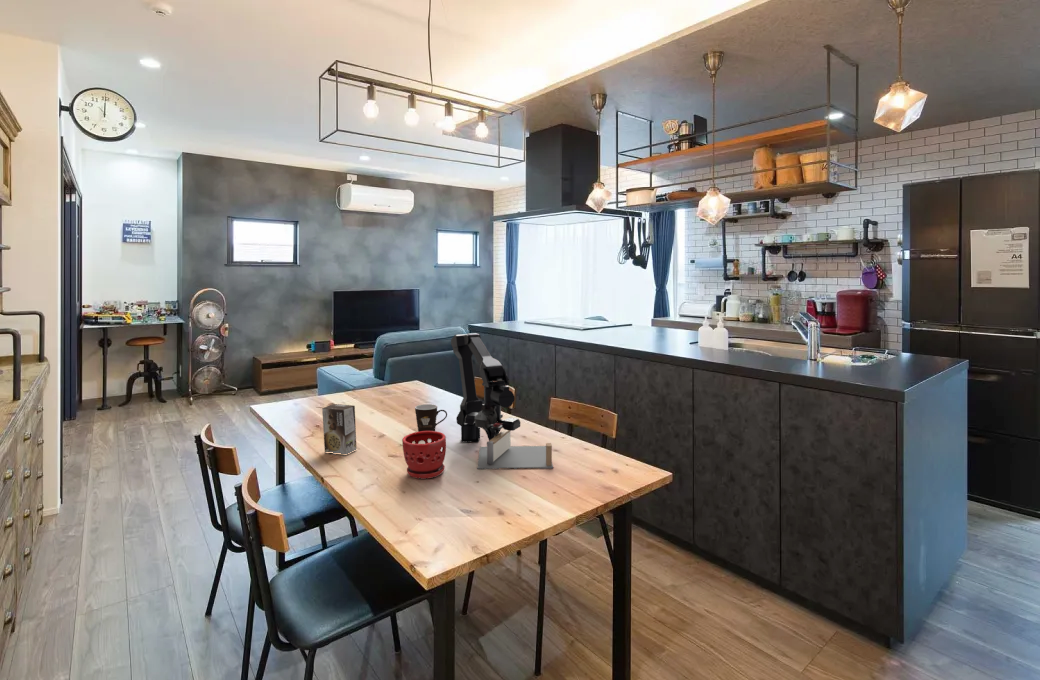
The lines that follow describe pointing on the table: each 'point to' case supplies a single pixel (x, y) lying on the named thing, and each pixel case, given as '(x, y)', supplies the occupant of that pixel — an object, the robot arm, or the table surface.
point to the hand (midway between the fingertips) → (492, 445)
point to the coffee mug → (427, 417)
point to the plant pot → (424, 454)
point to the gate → (498, 446)
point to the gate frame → (519, 457)
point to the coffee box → (339, 428)
